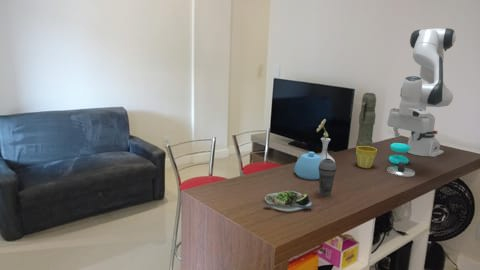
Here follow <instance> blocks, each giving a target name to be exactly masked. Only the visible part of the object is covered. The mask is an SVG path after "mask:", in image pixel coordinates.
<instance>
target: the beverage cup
mask: <svg viewBox="0 0 480 270" xmlns="http://www.w3.org/2000/svg"><path fill="white" fill-rule="evenodd" d="M327 153H328V147H327V148H326V159H323V160H322V161H321V162H320V164H319V167H318V168H319V179H318V181H319V183H318V185H319V189H318V190H319V195H320V196H321V197H322V196H323V197H330V196H331V194H332V190H333V185H334V180H335V179H334V178H335V175H336V172H337V164H336V161H335V162H334V161H333V160H331V159H329V158H327Z"/></svg>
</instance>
